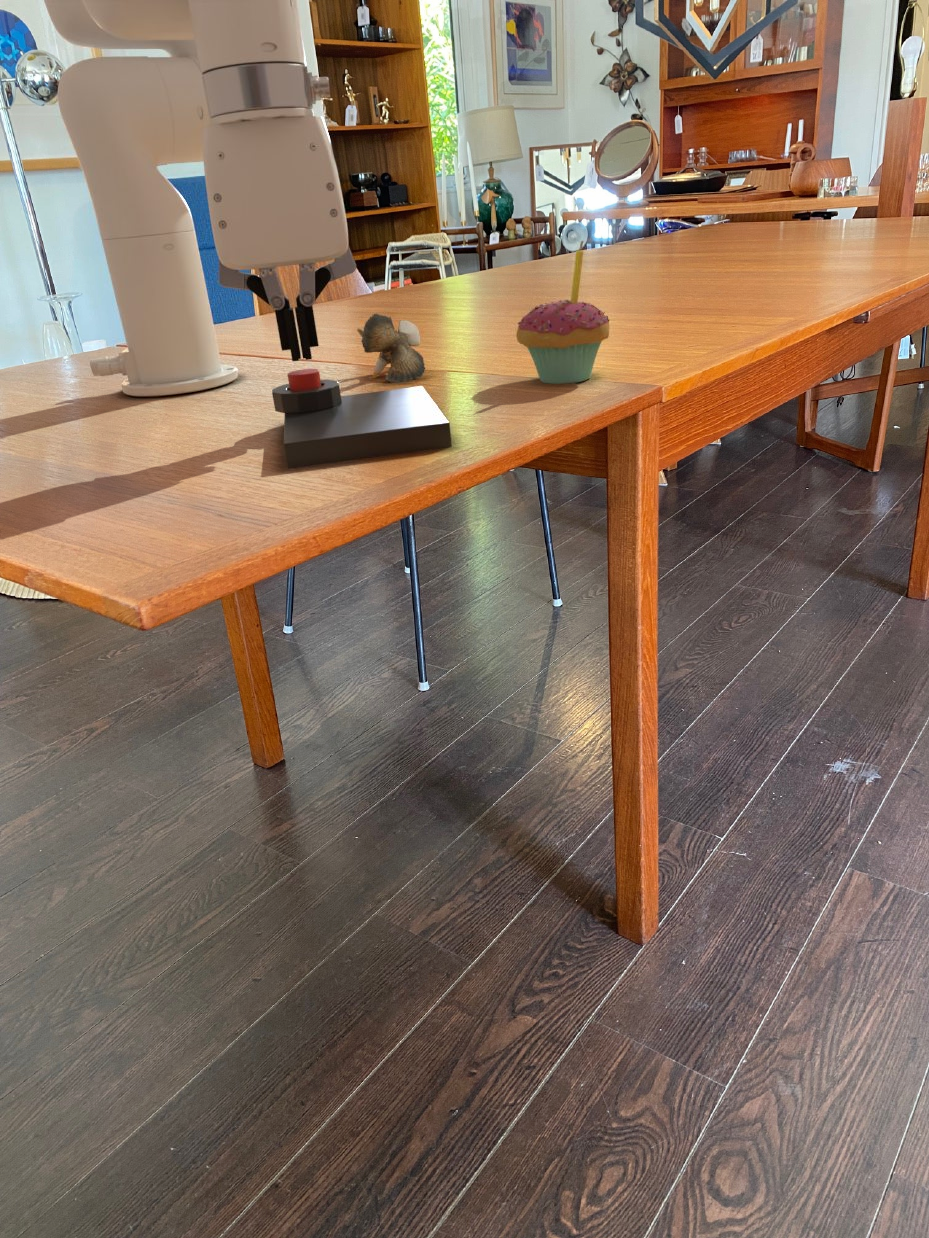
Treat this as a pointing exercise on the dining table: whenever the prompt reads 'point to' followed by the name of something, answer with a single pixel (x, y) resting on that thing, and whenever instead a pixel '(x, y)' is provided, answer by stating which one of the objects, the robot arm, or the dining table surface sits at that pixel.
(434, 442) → the dark grey flat block
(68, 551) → the dining table surface
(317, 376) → the button
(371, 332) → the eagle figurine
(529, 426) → the dining table surface
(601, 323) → the cupcake
